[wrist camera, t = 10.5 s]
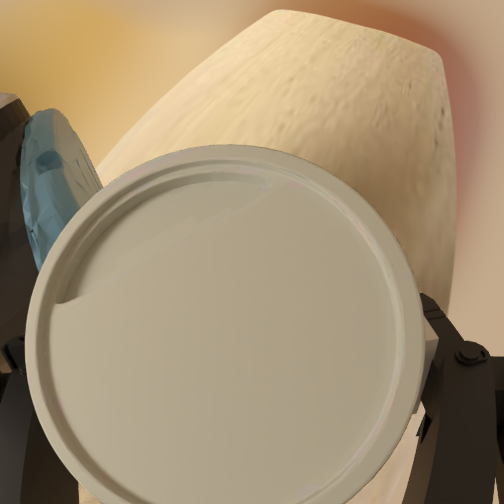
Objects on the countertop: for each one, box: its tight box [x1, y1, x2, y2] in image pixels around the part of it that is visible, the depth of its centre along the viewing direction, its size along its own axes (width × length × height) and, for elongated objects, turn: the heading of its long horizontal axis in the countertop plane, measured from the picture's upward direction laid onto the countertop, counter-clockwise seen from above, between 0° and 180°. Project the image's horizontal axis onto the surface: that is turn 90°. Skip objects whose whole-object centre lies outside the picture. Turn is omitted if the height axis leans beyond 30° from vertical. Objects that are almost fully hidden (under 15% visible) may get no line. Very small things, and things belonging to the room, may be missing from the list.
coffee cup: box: [25, 144, 426, 504], centre depth 10 cm, size 9×8×12 cm
